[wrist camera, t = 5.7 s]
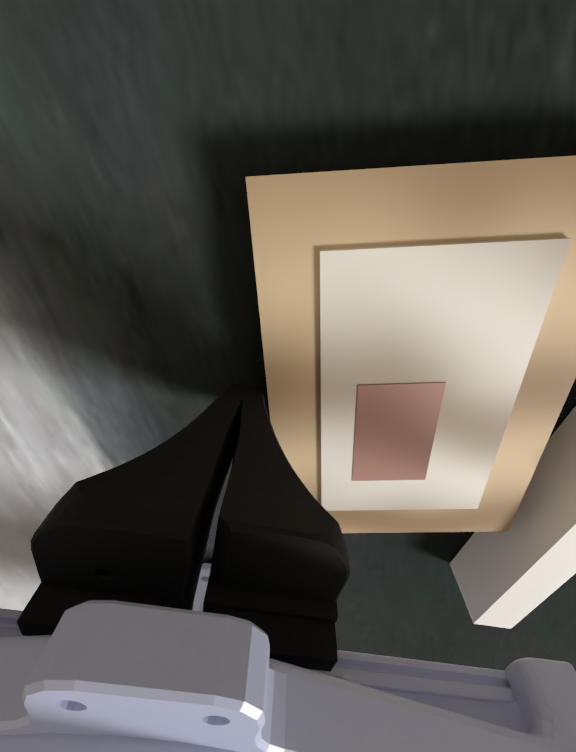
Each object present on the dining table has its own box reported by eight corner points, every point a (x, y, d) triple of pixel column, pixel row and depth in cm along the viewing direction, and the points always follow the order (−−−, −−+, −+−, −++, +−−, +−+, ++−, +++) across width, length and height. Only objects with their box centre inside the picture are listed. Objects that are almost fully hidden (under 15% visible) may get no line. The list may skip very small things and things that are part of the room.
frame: (482, 488, 17) (510, 536, 15) (283, 491, 17) (281, 538, 15) (596, 155, 10) (686, 148, 7) (256, 177, 10) (244, 176, 8)
